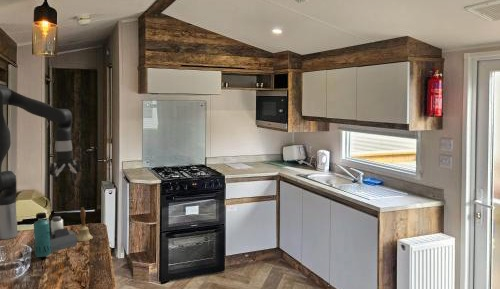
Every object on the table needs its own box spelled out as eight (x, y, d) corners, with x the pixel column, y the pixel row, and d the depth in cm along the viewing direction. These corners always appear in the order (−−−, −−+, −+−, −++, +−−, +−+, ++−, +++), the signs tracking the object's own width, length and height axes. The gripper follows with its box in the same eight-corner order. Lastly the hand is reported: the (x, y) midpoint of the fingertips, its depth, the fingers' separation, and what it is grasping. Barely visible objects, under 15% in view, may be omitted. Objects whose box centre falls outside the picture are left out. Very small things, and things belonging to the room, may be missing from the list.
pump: (49, 235, 201) (48, 217, 200) (60, 232, 205) (59, 215, 204) (54, 237, 197) (53, 219, 196) (65, 234, 201) (64, 217, 200)
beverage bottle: (33, 261, 185) (30, 215, 183) (36, 255, 192) (34, 211, 189) (50, 259, 187) (47, 214, 185) (52, 254, 193) (50, 210, 191)
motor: (40, 255, 192) (38, 234, 191) (32, 251, 197) (31, 231, 196) (76, 245, 204) (75, 226, 203) (68, 241, 210) (67, 222, 208)
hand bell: (94, 239, 212) (93, 208, 211) (76, 242, 208) (75, 210, 206) (90, 234, 219) (89, 204, 218) (73, 237, 215) (72, 206, 213)
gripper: (74, 147, 219) (75, 179, 220) (45, 150, 208) (47, 183, 210) (81, 148, 214) (83, 181, 216) (52, 151, 203) (54, 185, 205)
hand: (65, 182), depth 213 cm, fingers open, 8 cm apart
